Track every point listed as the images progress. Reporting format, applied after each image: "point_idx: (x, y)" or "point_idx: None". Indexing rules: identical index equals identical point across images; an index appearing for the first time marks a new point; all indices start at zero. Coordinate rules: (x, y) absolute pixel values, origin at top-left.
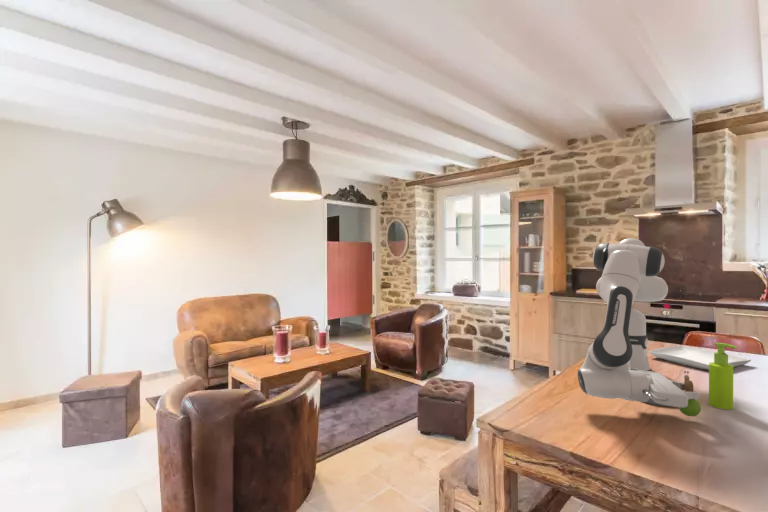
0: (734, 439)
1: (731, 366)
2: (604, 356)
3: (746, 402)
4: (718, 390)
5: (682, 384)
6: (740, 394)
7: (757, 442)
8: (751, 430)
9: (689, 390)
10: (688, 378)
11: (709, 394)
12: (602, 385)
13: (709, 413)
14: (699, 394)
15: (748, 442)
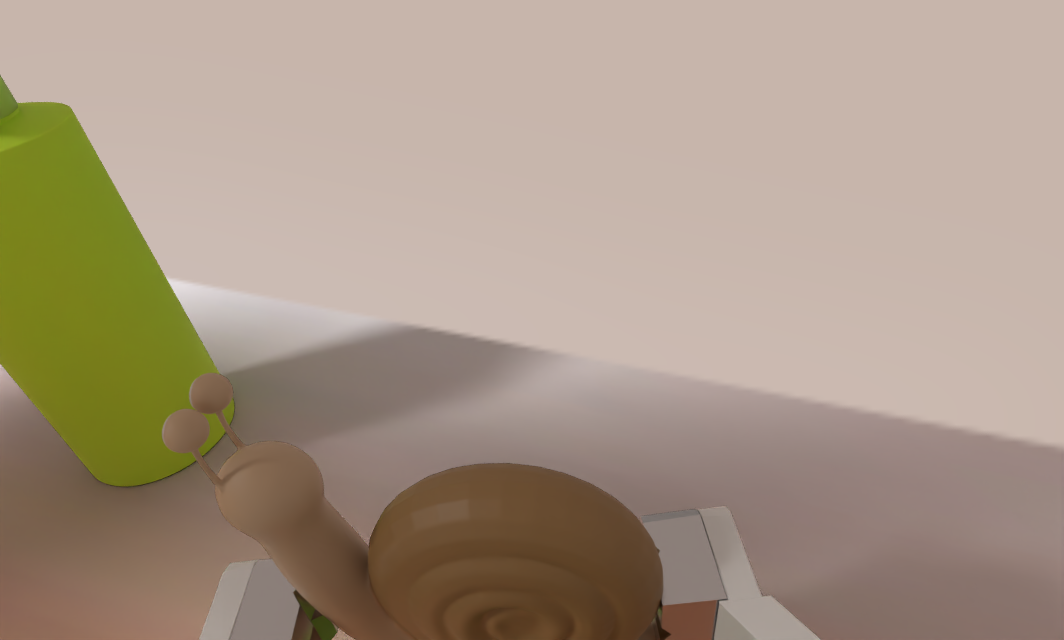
0: (854, 520)
1: (48, 103)
2: None
3: None
4: (138, 349)
5: (296, 635)
6: None
7: (802, 412)
8: (587, 391)
9: (654, 608)
10: (316, 472)
11: (85, 429)
12: None
13: None
14: (721, 509)
15: (846, 455)
